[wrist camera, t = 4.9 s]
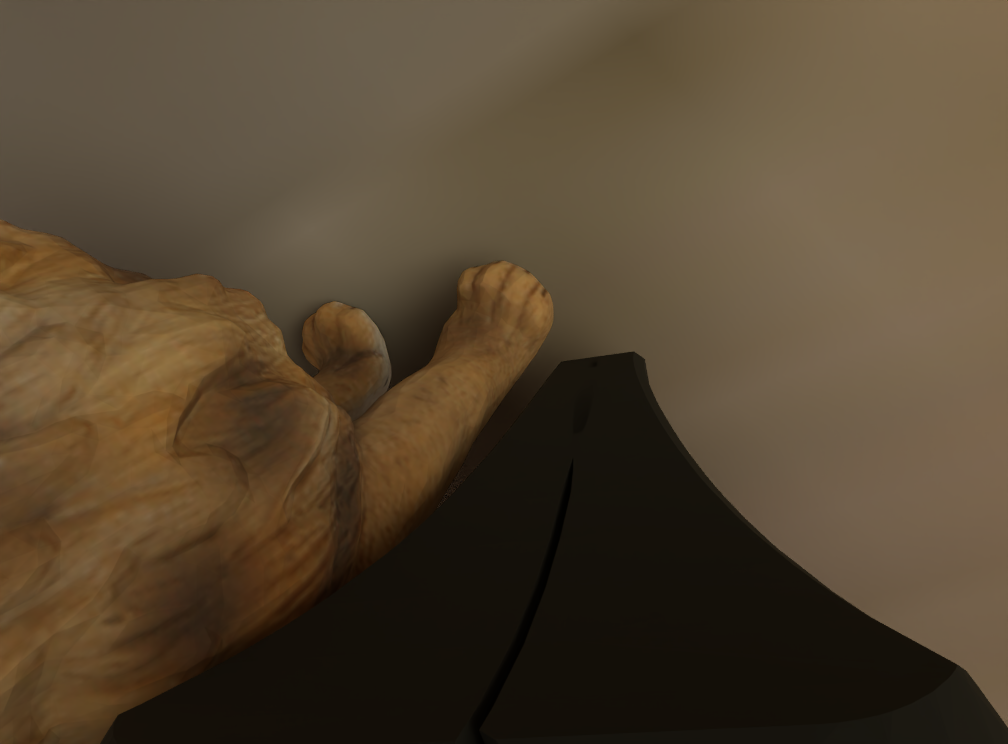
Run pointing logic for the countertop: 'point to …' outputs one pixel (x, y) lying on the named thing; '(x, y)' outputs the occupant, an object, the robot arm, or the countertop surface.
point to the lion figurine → (206, 467)
